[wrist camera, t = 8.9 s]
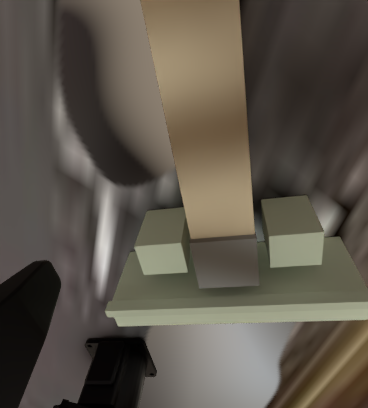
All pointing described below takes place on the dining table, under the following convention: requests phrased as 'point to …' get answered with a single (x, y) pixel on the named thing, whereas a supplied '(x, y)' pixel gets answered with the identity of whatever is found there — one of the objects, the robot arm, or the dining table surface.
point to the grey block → (246, 295)
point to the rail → (208, 131)
